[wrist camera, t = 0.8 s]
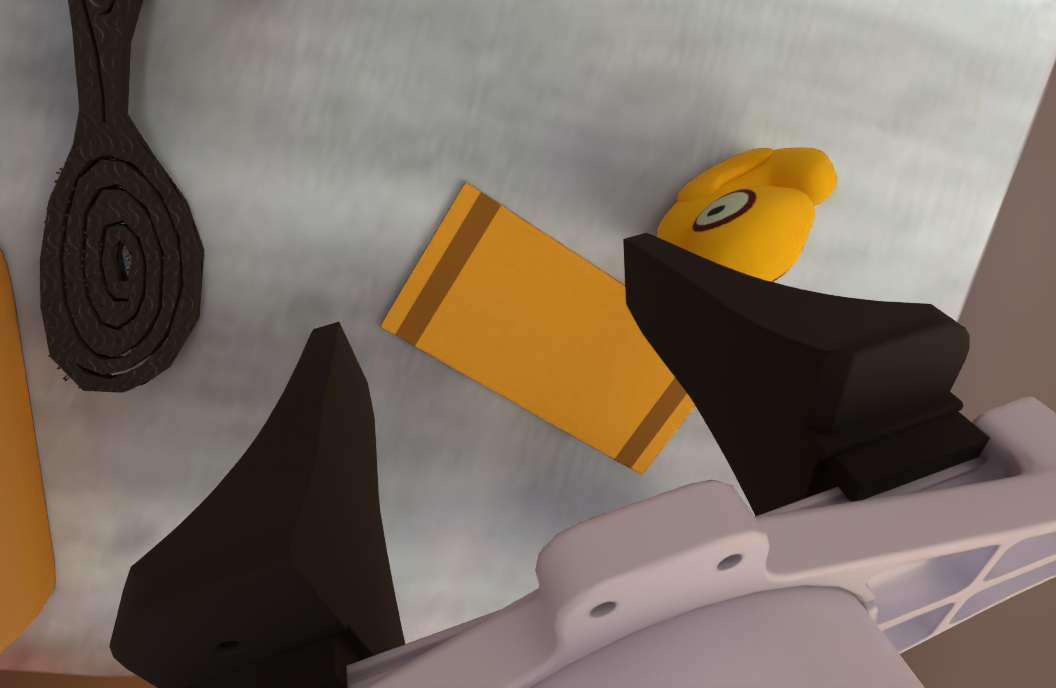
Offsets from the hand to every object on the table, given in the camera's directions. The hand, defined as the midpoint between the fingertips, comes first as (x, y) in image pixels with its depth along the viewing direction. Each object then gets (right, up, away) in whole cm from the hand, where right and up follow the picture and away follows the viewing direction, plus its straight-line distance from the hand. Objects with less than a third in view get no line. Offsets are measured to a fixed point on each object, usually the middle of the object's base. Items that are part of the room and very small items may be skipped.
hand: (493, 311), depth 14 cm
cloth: (+3, -1, +22) cm, 22 cm away
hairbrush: (-21, +9, +17) cm, 29 cm away
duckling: (+11, +7, +21) cm, 24 cm away
